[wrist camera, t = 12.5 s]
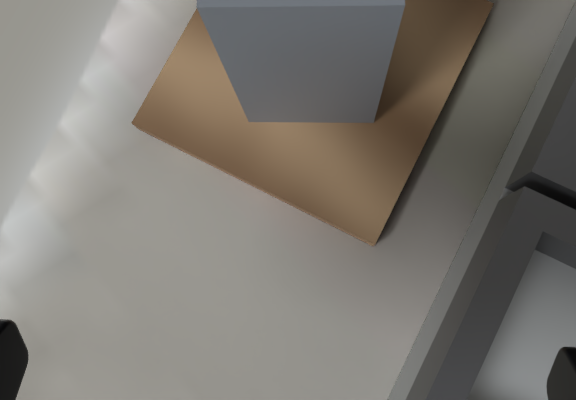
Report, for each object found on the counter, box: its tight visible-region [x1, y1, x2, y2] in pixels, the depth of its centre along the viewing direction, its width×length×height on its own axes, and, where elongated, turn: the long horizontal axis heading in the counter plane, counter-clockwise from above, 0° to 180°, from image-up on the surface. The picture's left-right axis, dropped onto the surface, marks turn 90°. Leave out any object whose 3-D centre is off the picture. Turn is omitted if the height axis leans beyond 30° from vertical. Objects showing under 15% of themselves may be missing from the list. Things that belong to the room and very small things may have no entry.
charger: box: [197, 0, 405, 123], centre depth 18 cm, size 5×5×9 cm
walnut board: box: [132, 0, 494, 246], centre depth 23 cm, size 11×11×1 cm
